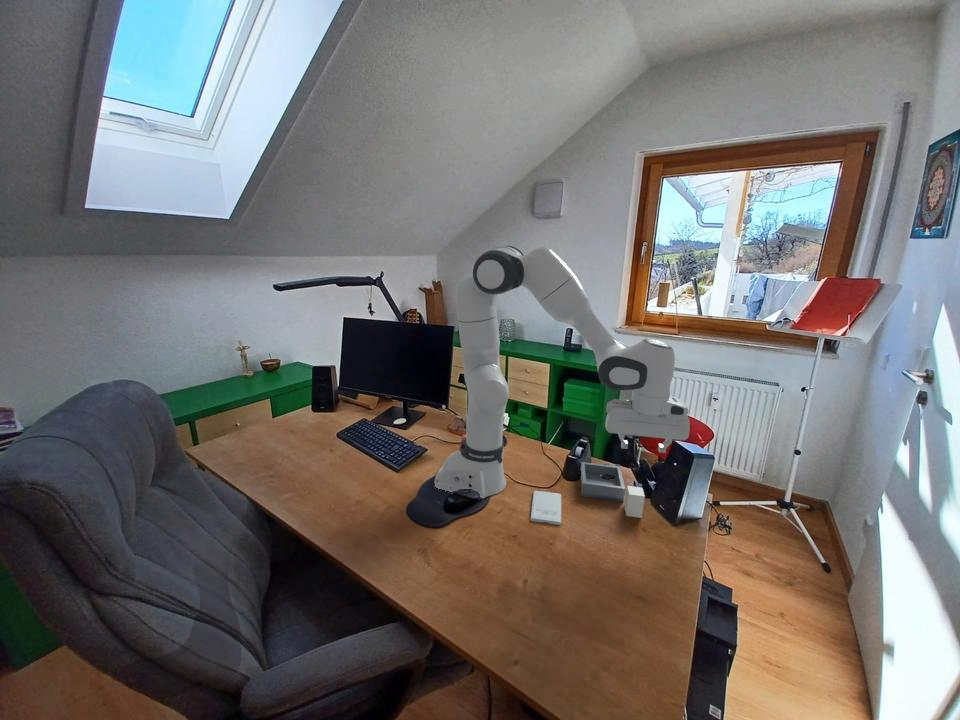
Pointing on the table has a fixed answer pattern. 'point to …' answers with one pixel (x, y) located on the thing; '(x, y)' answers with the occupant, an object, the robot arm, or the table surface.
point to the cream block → (634, 501)
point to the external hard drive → (546, 507)
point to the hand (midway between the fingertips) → (642, 449)
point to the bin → (602, 482)
